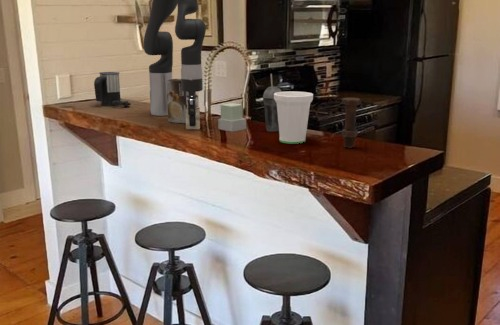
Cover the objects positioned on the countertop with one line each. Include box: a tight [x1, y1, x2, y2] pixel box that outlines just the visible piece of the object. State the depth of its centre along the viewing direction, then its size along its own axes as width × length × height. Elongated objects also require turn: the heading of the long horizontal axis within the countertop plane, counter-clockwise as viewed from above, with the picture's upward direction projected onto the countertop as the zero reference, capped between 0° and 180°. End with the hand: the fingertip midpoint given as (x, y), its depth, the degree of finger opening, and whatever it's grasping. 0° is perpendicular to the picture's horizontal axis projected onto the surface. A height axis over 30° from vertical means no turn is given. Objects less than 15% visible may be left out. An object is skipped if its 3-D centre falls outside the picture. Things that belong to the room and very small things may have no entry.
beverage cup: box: [262, 73, 283, 133], centre depth 185 cm, size 7×7×20 cm
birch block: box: [185, 107, 201, 130], centre depth 191 cm, size 5×5×7 cm
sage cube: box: [220, 102, 244, 121], centre depth 189 cm, size 6×6×5 cm
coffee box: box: [166, 78, 189, 124], centre depth 202 cm, size 9×6×16 cm
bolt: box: [340, 97, 362, 149], centre depth 161 cm, size 6×5×15 cm
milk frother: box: [93, 71, 132, 108], centre depth 239 cm, size 14×16×15 cm
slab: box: [217, 117, 247, 133], centre depth 190 cm, size 7×7×4 cm
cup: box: [274, 90, 314, 145], centre depth 169 cm, size 12×12×15 cm
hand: (193, 124), depth 192 cm, fingers closed on birch block, 4 cm apart
